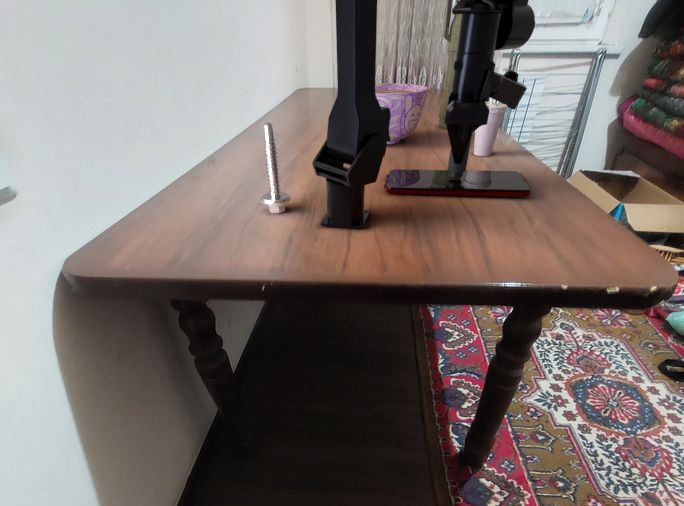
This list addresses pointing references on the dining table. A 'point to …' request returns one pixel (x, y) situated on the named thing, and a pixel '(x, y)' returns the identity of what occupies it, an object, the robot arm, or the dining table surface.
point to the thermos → (449, 58)
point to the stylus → (458, 169)
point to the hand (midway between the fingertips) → (457, 161)
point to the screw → (273, 175)
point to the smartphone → (457, 183)
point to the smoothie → (489, 129)
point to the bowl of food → (401, 107)
